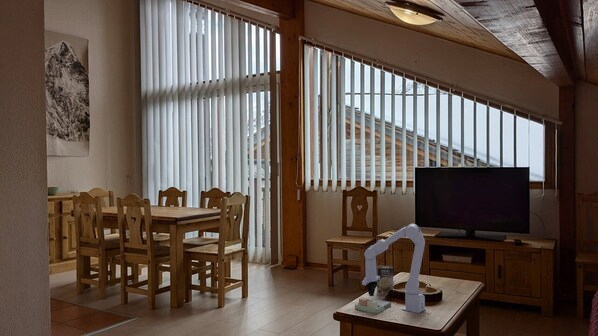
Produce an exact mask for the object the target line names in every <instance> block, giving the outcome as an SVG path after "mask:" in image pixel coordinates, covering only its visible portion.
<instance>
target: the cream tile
mask: <svg viewBox="0 0 598 336" xmlns="http://www.w3.org/2000/svg"><path fill="white" fill-rule="evenodd" d="M367 307H370V308H375V309H376V308H378V301H374V300H370V299H369V301H367Z"/></svg>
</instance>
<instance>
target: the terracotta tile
mask: <svg viewBox="0 0 598 336" xmlns="http://www.w3.org/2000/svg"><path fill="white" fill-rule="evenodd" d="M369 300H370V299H369V298H365V297H361V298H358V303H359V305H362V306H366V307H367V301H369Z"/></svg>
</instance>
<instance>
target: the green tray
mask: <svg viewBox="0 0 598 336" xmlns="http://www.w3.org/2000/svg"><path fill="white" fill-rule="evenodd" d="M354 309H355V310H357V311H361V312H366V313H369V314H374V315H377V313H378V314H380V313H381V311H382V312H384V311H385V309H384V305H383V306H381V307H379V308H376V309H375V308H370V307H366V306H362V305H359V302H358V303H355V304H354ZM379 312H380V313H379Z"/></svg>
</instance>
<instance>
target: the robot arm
mask: <svg viewBox="0 0 598 336" xmlns="http://www.w3.org/2000/svg"><path fill="white" fill-rule="evenodd" d="M401 238H403V239H405V238H408V239H409V240H411V241H412V242H413V244H414V250H413V256H412V260H411V266H410V272H409V275H408V280H407V282H406V283H405V286H404V289H405V291H404V294H405V295H404V296H405V298H404V300H405V301H404V303H405V304H404V307H402V308H401V310H403V311H407V312H412V313H415V314H420V313H422V312H424V311H426V302H425V301H426V298H425V295H424V294H422V293H420V290H419V287H420V281H419V278H420V271H421V267H422V261H423V255H424V252H425V245H426V239H425V237H424V236H423V232H422V230H421V228H420V226H418V225H417V224H415V223H410V224H407V226H403V227H402V228H400V229H399V230H397V231H396V232H395V233H393V234H392V235H390V236H389V237H387V238H386V239H378V240H377V241H376V243H374V244H373V245H370V246H369V247H368V248H367V249H366V250H365V251H364V255H363V256H364V258H365V262H364V263H365V266H364V268H365V277H364V278H363V280H362V281H361V285H362V286H365V287H366V289H367V292H368V296H369V297H374V295H375V291H376V289H377V284H378V282H377V280H380V276H377V256H379V255H380V254H382V253H384V252H385V251H386V250H388V249H389V246H390V245H391V244H393V243H394V242H396V241H398V240H399V239H401Z"/></svg>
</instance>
